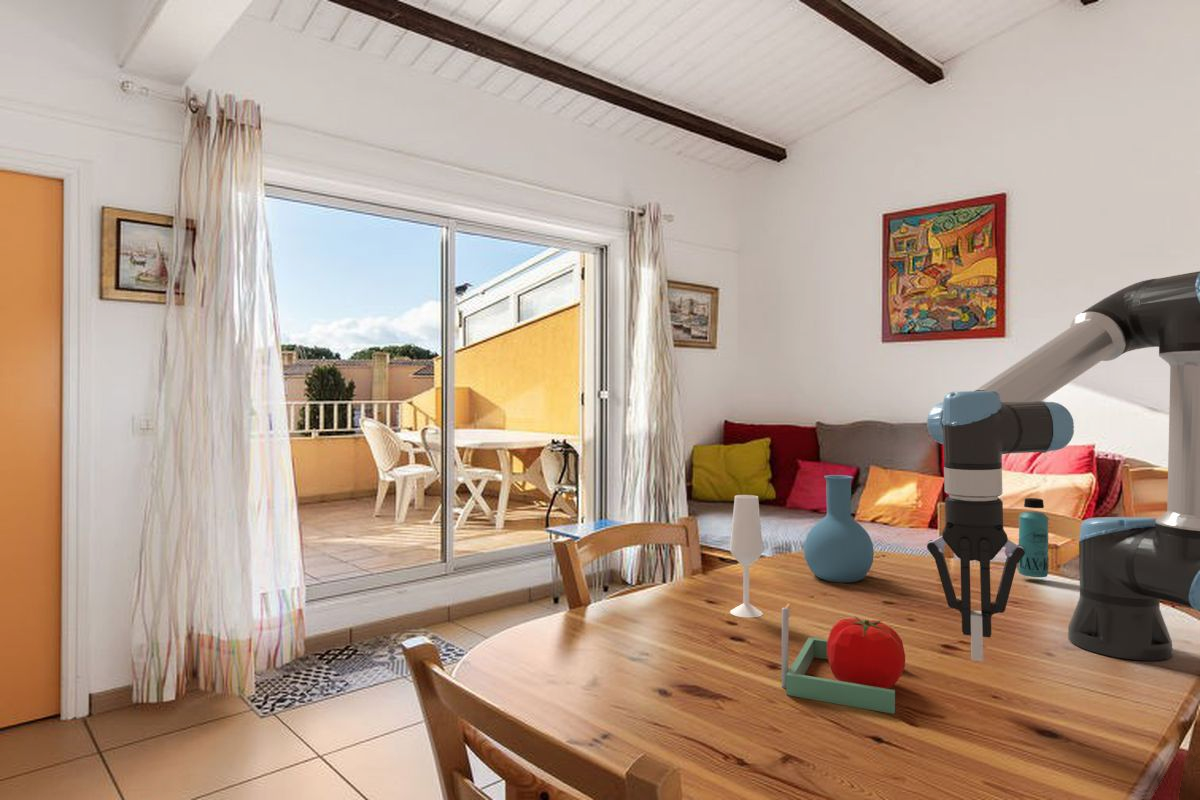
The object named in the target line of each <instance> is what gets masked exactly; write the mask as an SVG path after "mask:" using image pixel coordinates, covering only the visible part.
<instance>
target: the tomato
mask: <svg viewBox="0 0 1200 800" xmlns="http://www.w3.org/2000/svg"><path fill="white" fill-rule="evenodd" d="M882 621H883V619H879V620H875V619H872V620H868V619H865V620H862V619H860V618H858V617H857V616H855V617H854V618H853V617H852V618H843V619H840V620H839V621H838V622H837V623H836V624H834V625H833V626H832V628H831V629H830V633H829V634H828V635H829V636H828V639H827V640H828V641H827V657H828V659H827V661H828V663H829V667H830V670H831V673H832V675H833V676H834V678H835V679H836V680H837V681H843V682H849V683H855V684H861V685H867V686H874V687H880V688H886V689H891V688H892V687H894V685H895V684H896V683H897V682H898V680H899V679H900V678H901V677H902V674H903V672H904V669H905V668H906V653H905V647H904V645H903V644H904V643H903V640H902V638H901V637H900V636H899V634H898V633H897V631H896V630H895V629H893V628H892V627H890V626H889V625H887V624H885V623H884V622H882Z"/></svg>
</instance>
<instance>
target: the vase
mask: <svg viewBox="0 0 1200 800" xmlns="http://www.w3.org/2000/svg"><path fill="white" fill-rule="evenodd" d="M824 479H825V480H826V482H825V483H826V484H825V487H826V489H825V491H826V495H825V496H826V498H825V499H826V515H825V516H824V517H823V518H822V519H821V520H819V521H817V523H815V524H814V525H813V526H812V527H811V529H810V530H809V532H808V533H807V535H806V538H805V541H804V543H803V544H804V545H803V554H804V560H805V562H806V565H807V566H808V568H809V570H810V571H811V573H813V574H814V575H815V576H816V577H817V578H818V579H821V580H824V581H827V582H833V583H841V584H842V583H844V584H845V583H846V584H847V583H849V584H850V583H856V582H859V581H861V580H862V579H863V578H865V577H867V574H868V573H869V572H870V569H871V568H872V565H873V562H874V554H875V553H874V544H873V542H872V539H871V536H870V534H869V533H868V532H867V530H866V529H865V527H863V526H862V525H861V524H860V523H858V521H856V520H855V519H854V517H852V513H851V508H852V507H851V506H852V499H851V498H852V480H853V479H854V476H850V475H845V474H844V475H843V474H842V475H841V474H839V475H838V474H837V475H836V474H831V475H830V474H829V475H828V474H827V475H824Z"/></svg>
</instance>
